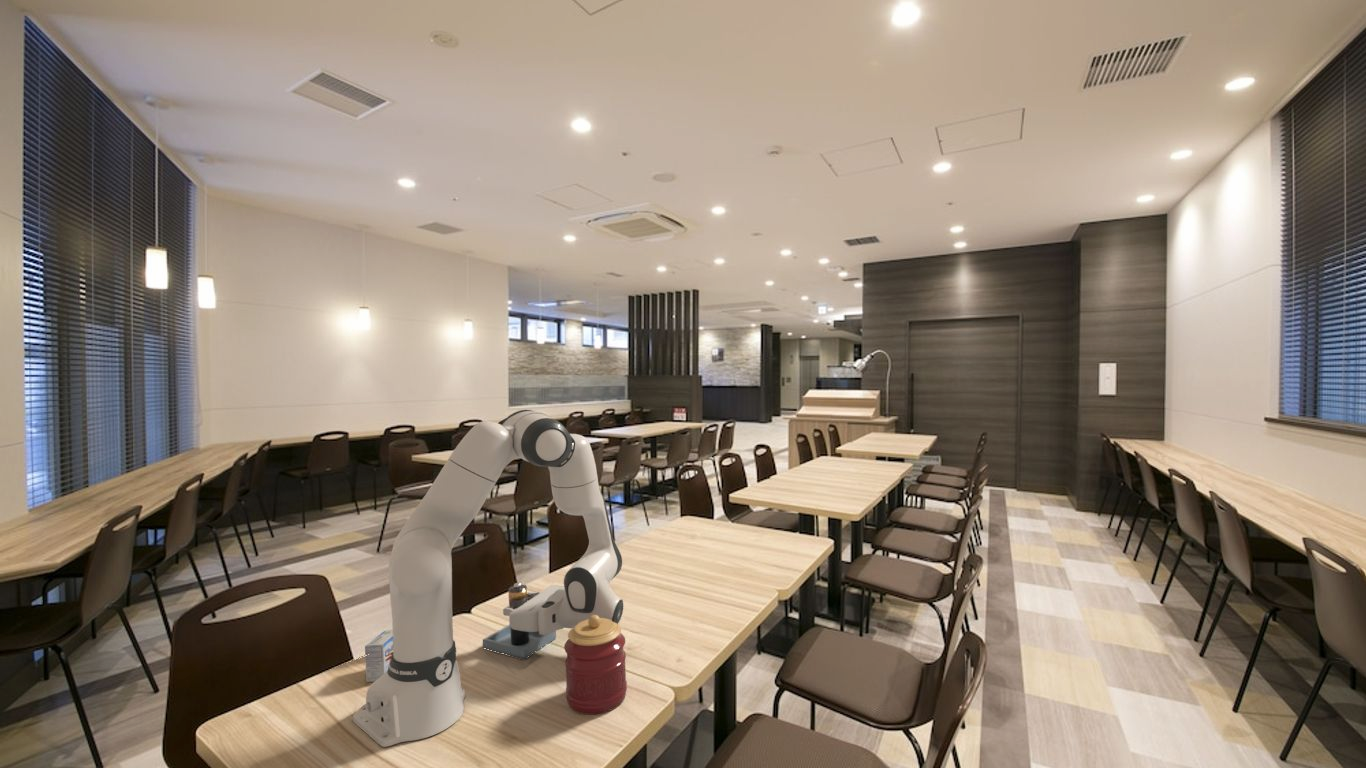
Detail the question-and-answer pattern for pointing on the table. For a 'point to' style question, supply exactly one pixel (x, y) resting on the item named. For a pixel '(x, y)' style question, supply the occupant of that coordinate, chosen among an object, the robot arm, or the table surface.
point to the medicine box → (378, 655)
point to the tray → (502, 644)
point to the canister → (595, 666)
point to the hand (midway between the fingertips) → (516, 603)
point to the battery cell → (515, 601)
